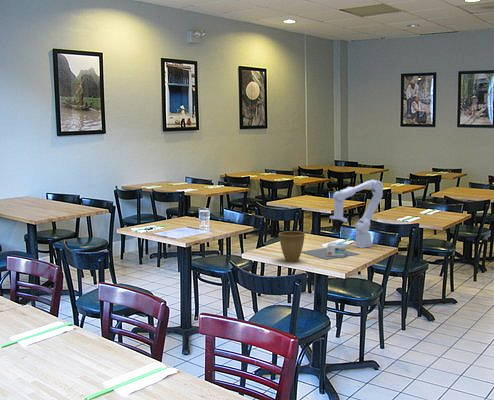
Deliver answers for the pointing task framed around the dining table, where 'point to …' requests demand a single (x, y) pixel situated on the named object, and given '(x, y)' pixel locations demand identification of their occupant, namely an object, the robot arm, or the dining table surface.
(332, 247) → the light bulb box
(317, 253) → the mat
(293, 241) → the plant pot
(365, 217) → the robot arm
